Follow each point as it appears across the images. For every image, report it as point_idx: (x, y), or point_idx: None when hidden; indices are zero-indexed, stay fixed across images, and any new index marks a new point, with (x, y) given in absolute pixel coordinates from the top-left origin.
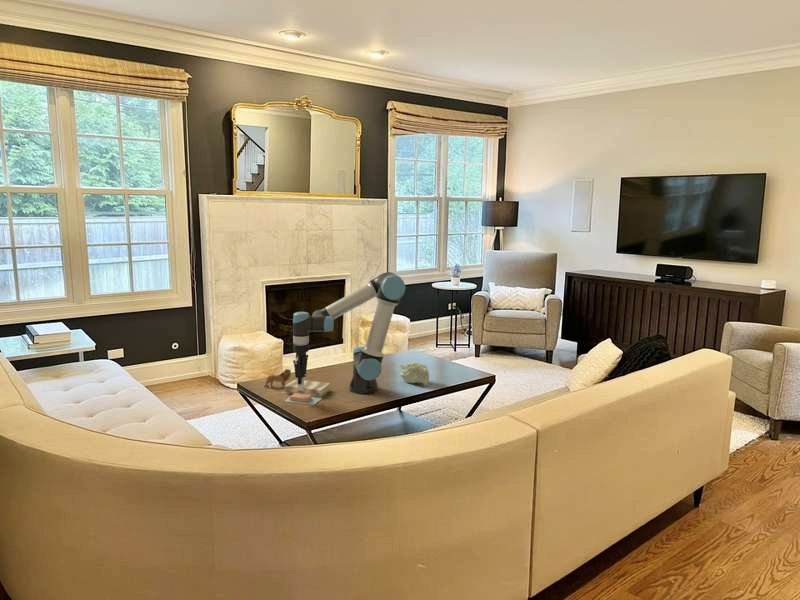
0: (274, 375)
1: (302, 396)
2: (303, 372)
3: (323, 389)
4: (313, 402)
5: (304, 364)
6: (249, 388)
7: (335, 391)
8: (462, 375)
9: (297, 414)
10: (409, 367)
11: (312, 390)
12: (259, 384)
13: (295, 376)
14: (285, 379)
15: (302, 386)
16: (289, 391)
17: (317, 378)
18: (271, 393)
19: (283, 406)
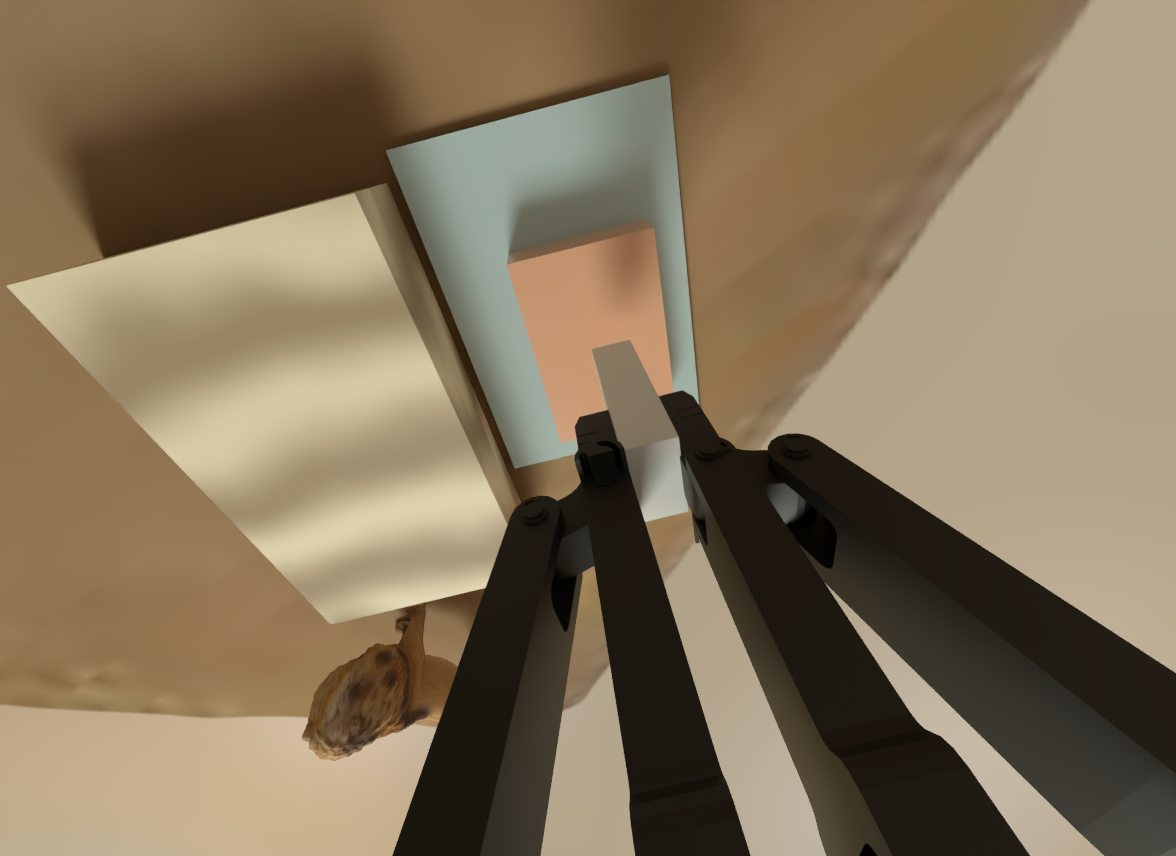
0: None
1: (609, 319)
2: (644, 527)
3: (275, 213)
4: (597, 145)
5: (639, 738)
6: (584, 683)
7: (36, 168)
8: None
9: (1004, 65)
10: None
11: (420, 323)
12: None
13: (819, 516)
14: (402, 655)
15: (642, 368)
16: None
17: (23, 575)
18: (586, 577)
19: (804, 351)
